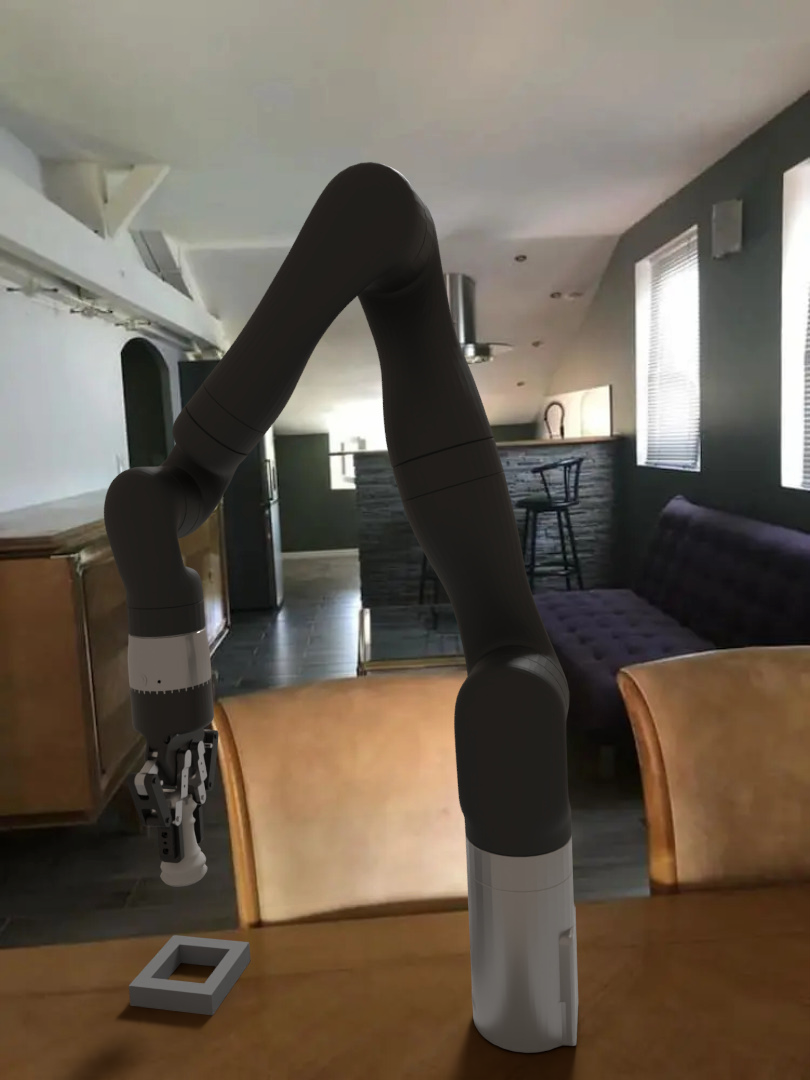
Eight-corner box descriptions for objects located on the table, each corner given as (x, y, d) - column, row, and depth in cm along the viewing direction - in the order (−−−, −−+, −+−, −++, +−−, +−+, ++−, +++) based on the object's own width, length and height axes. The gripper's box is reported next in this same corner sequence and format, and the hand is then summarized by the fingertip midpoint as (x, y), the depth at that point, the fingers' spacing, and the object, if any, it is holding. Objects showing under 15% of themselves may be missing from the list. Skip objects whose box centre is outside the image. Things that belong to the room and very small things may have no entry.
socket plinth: (250, 960, 85) (249, 942, 85) (212, 1015, 77) (211, 994, 77) (175, 953, 87) (173, 935, 87) (130, 1005, 79) (128, 985, 79)
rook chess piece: (150, 882, 80) (144, 802, 79) (182, 862, 84) (177, 785, 83) (185, 892, 78) (180, 810, 77) (217, 870, 82) (212, 792, 81)
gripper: (169, 699, 71) (182, 891, 73) (238, 659, 85) (248, 822, 87) (91, 697, 73) (106, 884, 75) (172, 658, 87) (183, 817, 88)
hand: (182, 850), depth 81 cm, fingers closed on rook chess piece, 3 cm apart
